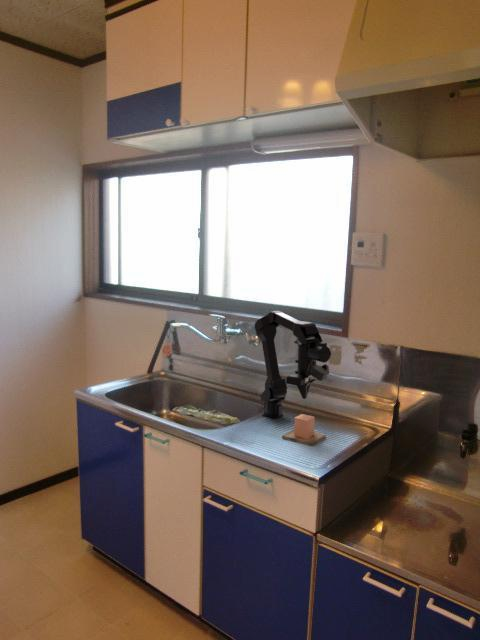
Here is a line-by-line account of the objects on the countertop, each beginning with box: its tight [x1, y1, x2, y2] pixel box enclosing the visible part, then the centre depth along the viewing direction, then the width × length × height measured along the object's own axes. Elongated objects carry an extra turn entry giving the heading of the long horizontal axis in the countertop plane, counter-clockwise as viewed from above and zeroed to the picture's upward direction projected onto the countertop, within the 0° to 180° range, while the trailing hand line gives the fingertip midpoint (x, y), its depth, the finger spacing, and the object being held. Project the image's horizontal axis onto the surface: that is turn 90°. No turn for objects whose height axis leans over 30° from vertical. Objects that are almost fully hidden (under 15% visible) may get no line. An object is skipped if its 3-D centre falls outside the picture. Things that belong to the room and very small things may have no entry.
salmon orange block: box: [293, 413, 315, 439], centre depth 179 cm, size 5×5×7 cm
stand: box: [281, 428, 327, 447], centre depth 179 cm, size 12×10×7 cm
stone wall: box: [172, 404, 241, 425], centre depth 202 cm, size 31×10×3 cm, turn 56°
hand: (304, 398), depth 185 cm, fingers closed
